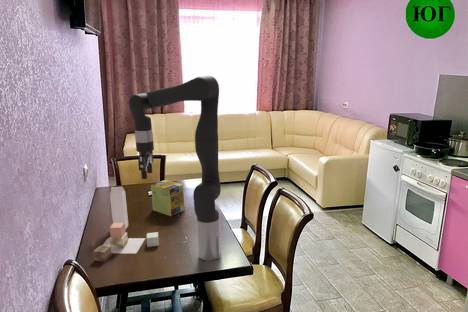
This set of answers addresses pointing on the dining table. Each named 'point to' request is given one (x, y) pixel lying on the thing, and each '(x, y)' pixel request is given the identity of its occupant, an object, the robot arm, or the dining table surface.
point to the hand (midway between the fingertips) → (147, 175)
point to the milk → (119, 205)
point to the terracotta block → (117, 230)
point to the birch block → (118, 242)
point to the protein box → (167, 197)
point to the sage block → (152, 239)
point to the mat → (127, 246)
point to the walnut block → (102, 253)
